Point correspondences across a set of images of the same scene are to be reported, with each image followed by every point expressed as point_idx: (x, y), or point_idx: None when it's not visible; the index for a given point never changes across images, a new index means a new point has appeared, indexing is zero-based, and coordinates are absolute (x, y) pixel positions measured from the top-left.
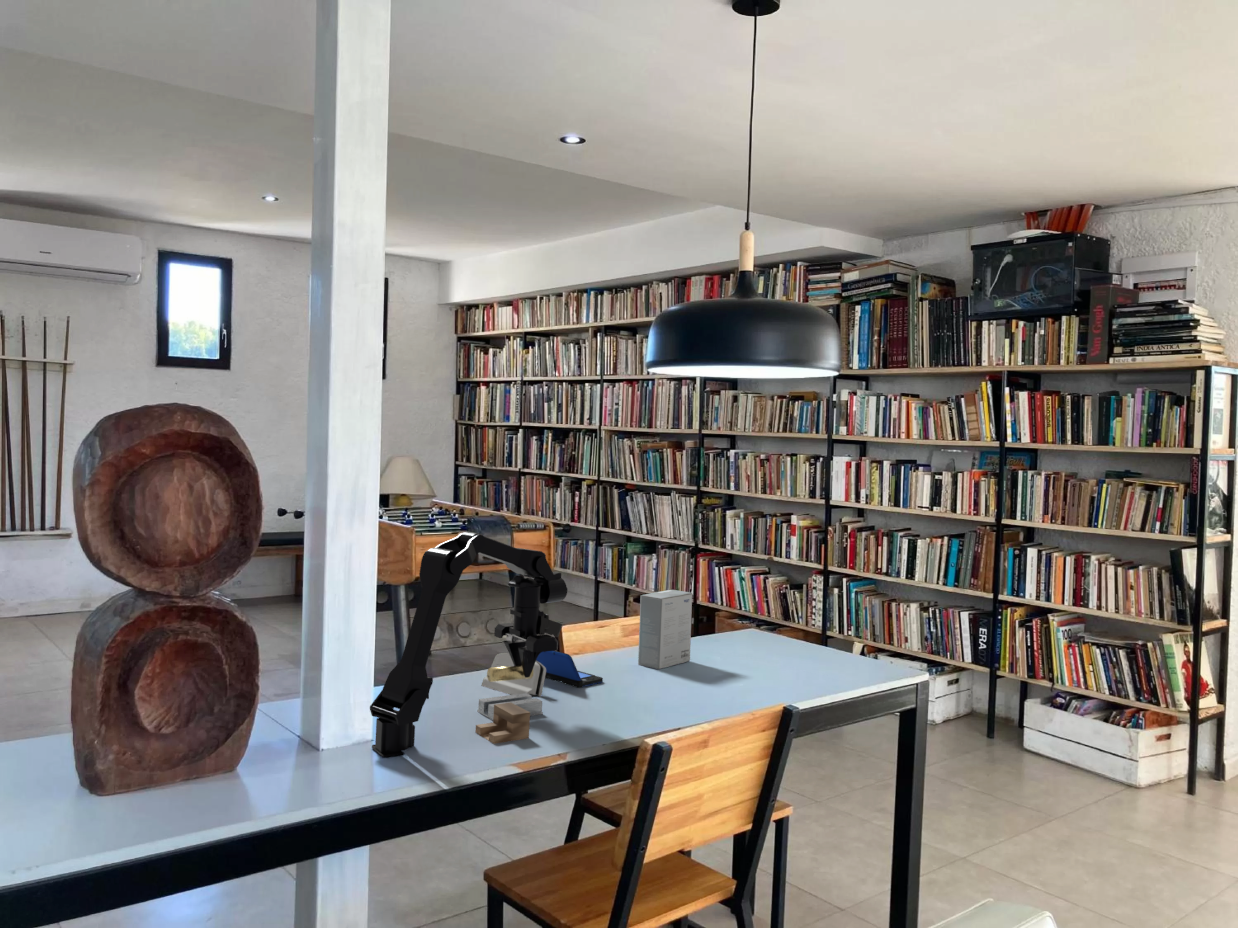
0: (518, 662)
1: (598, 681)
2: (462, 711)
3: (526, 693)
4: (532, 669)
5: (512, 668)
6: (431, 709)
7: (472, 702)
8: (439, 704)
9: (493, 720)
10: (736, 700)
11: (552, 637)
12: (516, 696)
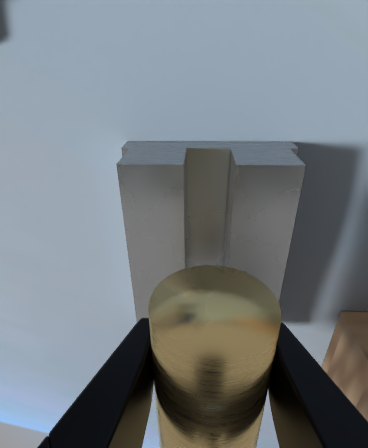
0: (136, 441)
1: None
2: (97, 329)
3: (126, 167)
4: (327, 374)
5: None
6: (56, 373)
7: (3, 272)
8: (12, 346)
9: (344, 388)
10: None
11: None
12: (161, 238)
